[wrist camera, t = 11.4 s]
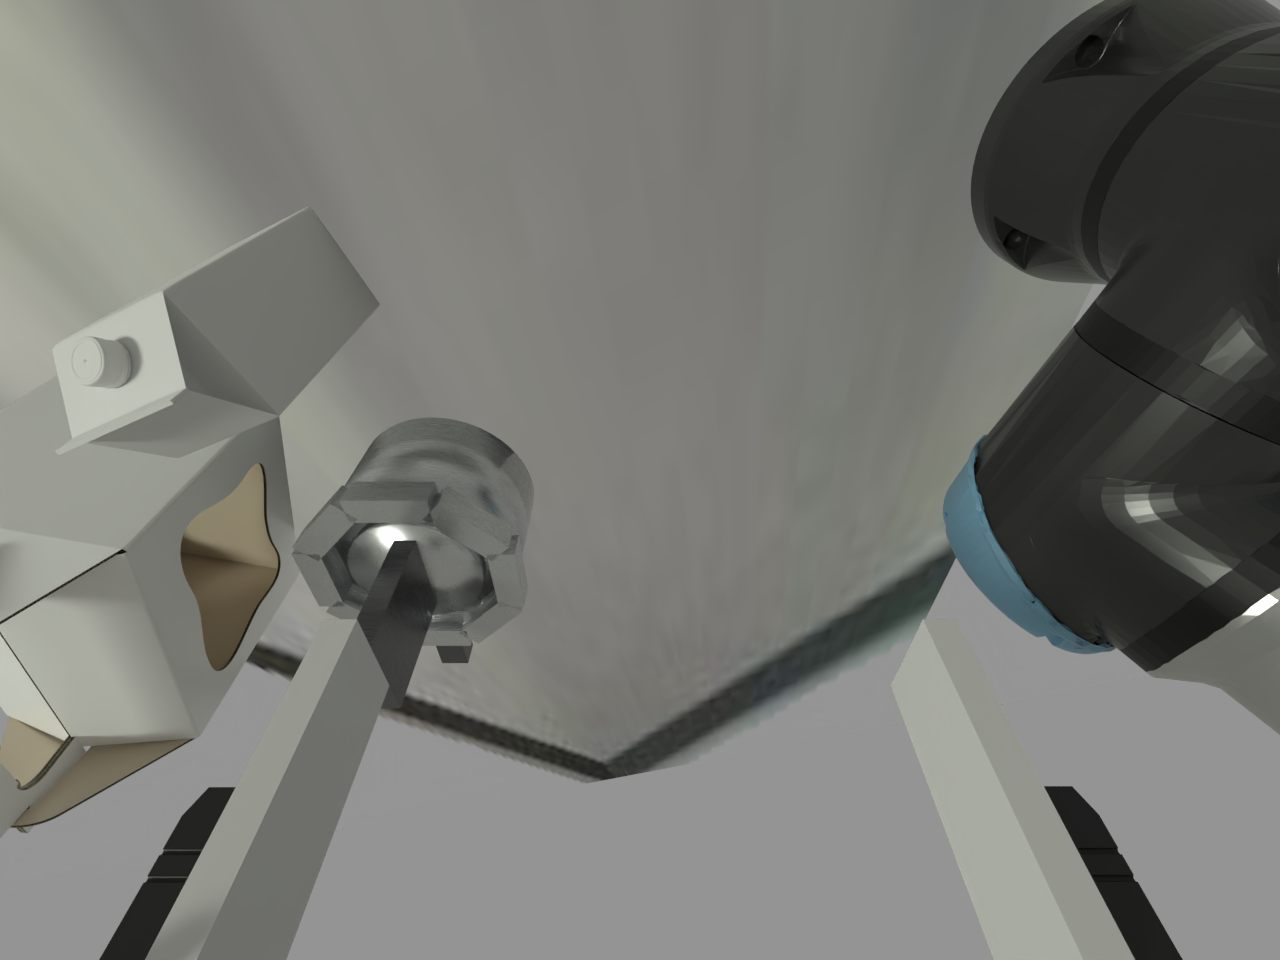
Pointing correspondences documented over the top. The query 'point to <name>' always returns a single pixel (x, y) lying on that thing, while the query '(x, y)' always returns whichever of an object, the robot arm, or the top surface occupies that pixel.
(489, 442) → the pot
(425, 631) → the lid
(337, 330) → the milk carton
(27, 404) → the gable box
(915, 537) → the top surface
